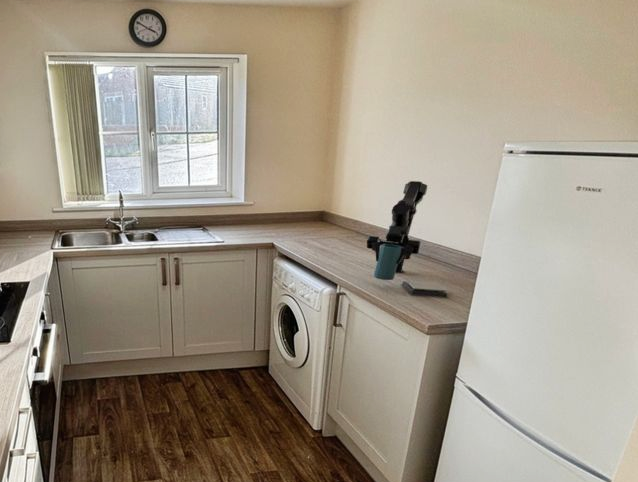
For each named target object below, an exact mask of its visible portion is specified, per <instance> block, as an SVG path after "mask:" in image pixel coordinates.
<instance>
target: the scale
mask: <svg viewBox="0 0 638 482" xmlns="http://www.w3.org/2000/svg"><path fill="white" fill-rule="evenodd" d="M406 281H407V280H406ZM406 281H405V280H403V281H402V283H401V285H402V286H403V287H404V288H405V289H406V291H407V292H409V294H410V295H411V296H412V295H413V296H425V297H438V298H439V297H441V298H447V297H448V293H447V291H446V292H442V291H427V290H414V289H413V288H412V287H411V286H410V285H409V284H408V283H407V282H406Z"/></svg>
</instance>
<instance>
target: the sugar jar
mask: <svg viewBox="0 0 638 482" xmlns="http://www.w3.org/2000/svg"><path fill="white" fill-rule="evenodd" d="M401 250H402V246H399V245H395V244H382V245H380V252H379V257H378V261H376V265H375V269H374V273H373V277H374V278H376V279H377V280H381V281H382V280H383V281H393V280H394V278H395V276H396V273H397V272H396V268H397V265H398V264H397V262H398V259H399V257H400V254H401Z"/></svg>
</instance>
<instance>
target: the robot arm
mask: <svg viewBox="0 0 638 482" xmlns="http://www.w3.org/2000/svg"><path fill="white" fill-rule="evenodd" d="M427 191H428V184H426V183H423V181H419V180H410V181H408V182H407V183H405V184H404V188H403V195H404V196H403V198H402V199H400V200H398V201H397V203H396V204H395V205H393V207H392V209H391V224H390V225H389V226H388V229H387V232H386V235H385V240H383V239H381V238H380V236H377V235H369V236H368V237H367V239H366V248H367V249H369V250H370V249H371V250H372V251H373V252H374V254H375V262H377V261H378V257H379V253H380V249H381V245H382V244H395V245H399V246H402V250H401V254H400V257H399V259H398V262H397V264H398V265H397V268H396V272H395V273H405V270H403V267H404V262H405V260H410V259H411V255H412V254H413V255H418V254H419V252H420V249H421V244H422V243H421V240H417V239H409V234H410V231H411V228H412V224H413V220H414V217H415V216H416V214H417V211H418V210H417V206H418V205H419V204H420V203H421V202H422V201H423V199H424V196H426V195H427Z"/></svg>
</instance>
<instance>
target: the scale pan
mask: <svg viewBox="0 0 638 482" xmlns="http://www.w3.org/2000/svg"><path fill="white" fill-rule="evenodd" d="M406 282H407V283H408V284H409V285H410V286H411V287H412V288H413V289H414V290H427V291H442V292H446V293H447V289H446V288H444V287H443V286H442V285H440V284H439V283H438V282H435V281H422V280H421V281H419V280H406Z"/></svg>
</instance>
